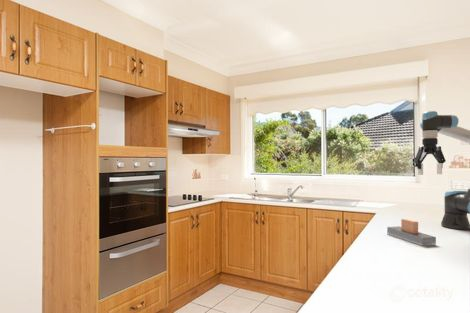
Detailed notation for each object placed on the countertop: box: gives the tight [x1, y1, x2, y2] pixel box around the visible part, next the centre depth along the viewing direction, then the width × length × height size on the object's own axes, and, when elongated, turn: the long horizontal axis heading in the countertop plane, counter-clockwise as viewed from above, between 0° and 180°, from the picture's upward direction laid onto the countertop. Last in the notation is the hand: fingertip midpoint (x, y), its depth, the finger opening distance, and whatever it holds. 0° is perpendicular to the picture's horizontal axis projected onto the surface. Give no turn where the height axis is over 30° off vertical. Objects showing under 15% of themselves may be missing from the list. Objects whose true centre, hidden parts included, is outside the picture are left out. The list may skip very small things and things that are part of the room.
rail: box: [387, 225, 437, 247], centre depth 163 cm, size 8×24×4 cm, turn 13°
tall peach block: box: [400, 218, 419, 234], centre depth 162 cm, size 3×8×9 cm, turn 15°
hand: (430, 174), depth 179 cm, fingers open, 13 cm apart
